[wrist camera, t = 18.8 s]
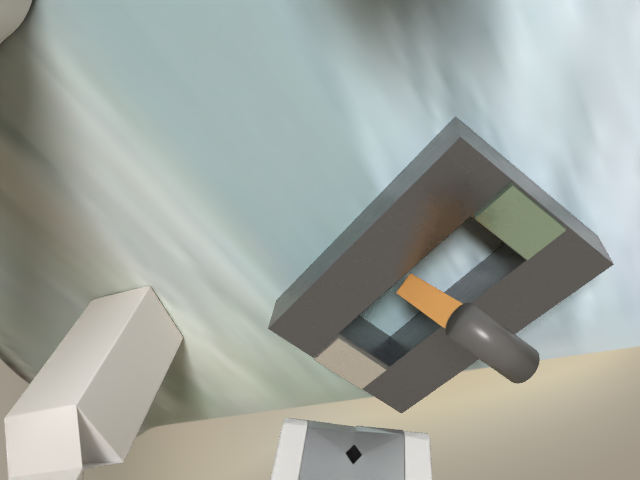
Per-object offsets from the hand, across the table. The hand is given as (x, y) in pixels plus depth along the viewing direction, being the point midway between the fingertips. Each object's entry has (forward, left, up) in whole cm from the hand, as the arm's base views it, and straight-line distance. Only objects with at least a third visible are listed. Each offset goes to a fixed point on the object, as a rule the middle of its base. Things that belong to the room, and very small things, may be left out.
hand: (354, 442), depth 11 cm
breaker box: (+5, -19, -33) cm, 38 cm away
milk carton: (-23, -28, -33) cm, 49 cm away
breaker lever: (+5, -19, -29) cm, 35 cm away
